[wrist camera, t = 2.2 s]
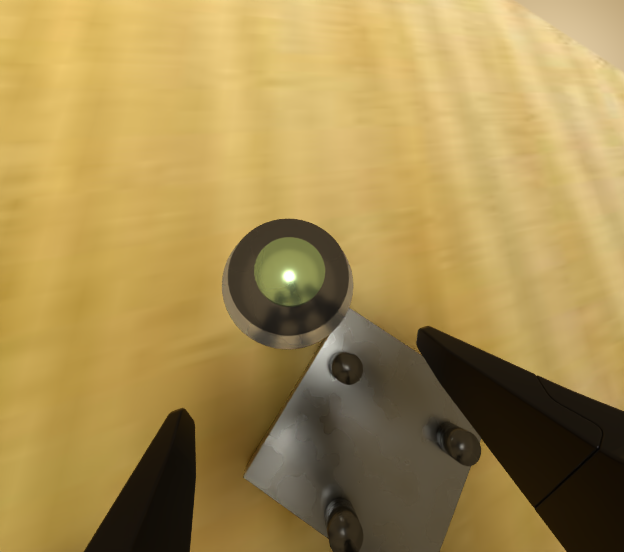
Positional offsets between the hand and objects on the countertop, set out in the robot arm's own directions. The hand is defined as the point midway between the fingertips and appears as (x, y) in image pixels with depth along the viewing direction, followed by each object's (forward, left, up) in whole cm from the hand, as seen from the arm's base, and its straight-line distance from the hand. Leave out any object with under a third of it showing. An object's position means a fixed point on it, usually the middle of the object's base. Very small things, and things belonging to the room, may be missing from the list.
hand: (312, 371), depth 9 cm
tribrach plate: (-8, +1, -10) cm, 13 cm away
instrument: (+2, -2, -10) cm, 11 cm away
